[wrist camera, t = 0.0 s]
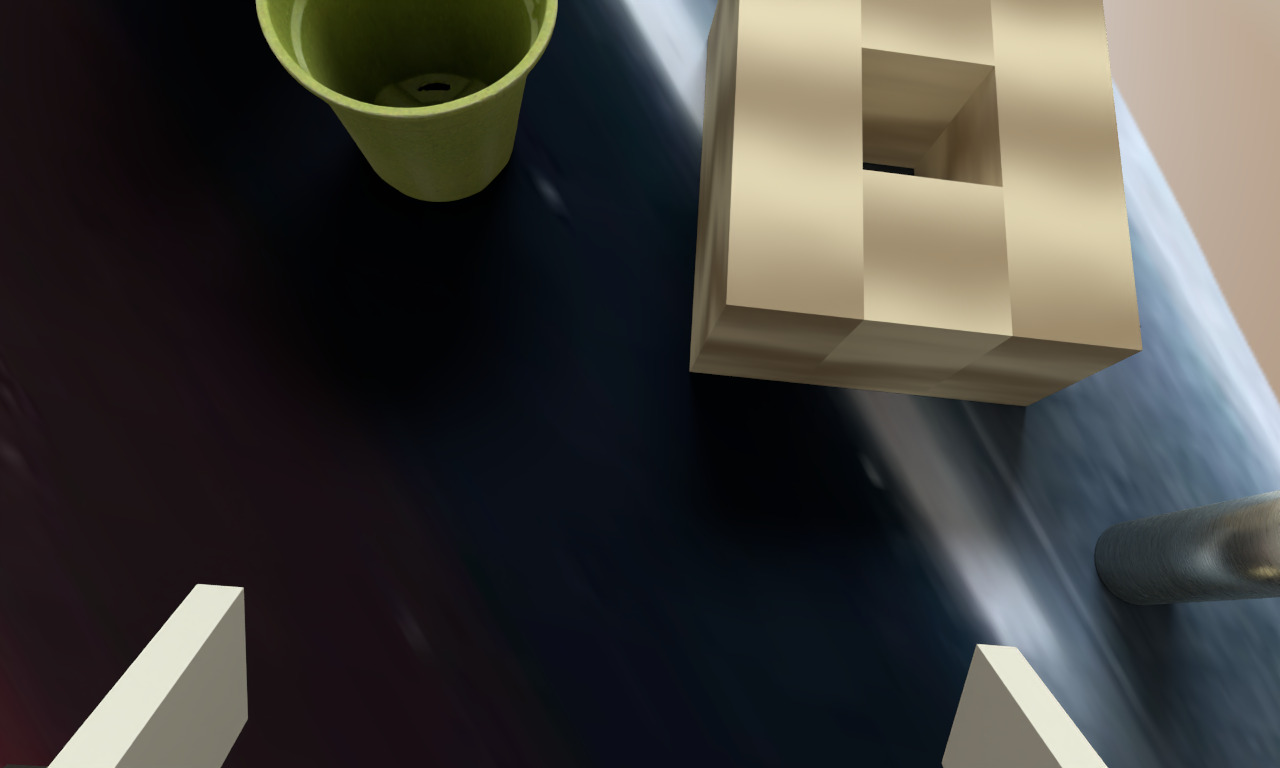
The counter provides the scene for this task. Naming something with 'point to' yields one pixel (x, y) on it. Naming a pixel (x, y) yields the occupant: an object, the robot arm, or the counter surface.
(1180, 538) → the steel pin
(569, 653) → the counter surface
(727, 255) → the birch block
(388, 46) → the plant pot
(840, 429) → the counter surface
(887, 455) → the counter surface
